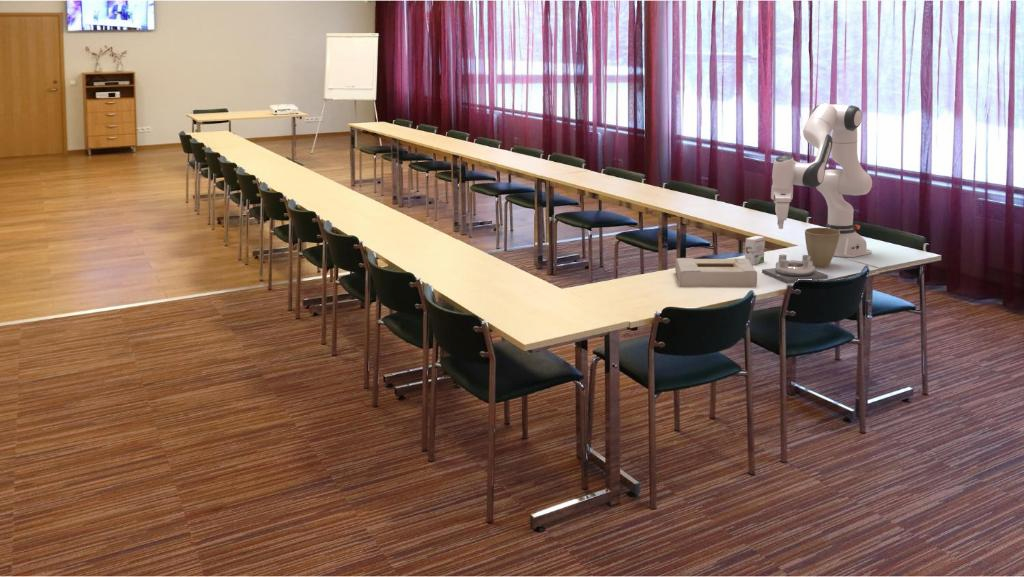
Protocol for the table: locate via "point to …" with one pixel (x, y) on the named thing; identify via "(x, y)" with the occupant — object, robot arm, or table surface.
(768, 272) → the stud plate
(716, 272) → the box
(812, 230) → the plant pot
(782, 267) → the ring nut
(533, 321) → the table surface
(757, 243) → the ink box
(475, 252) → the table surface
